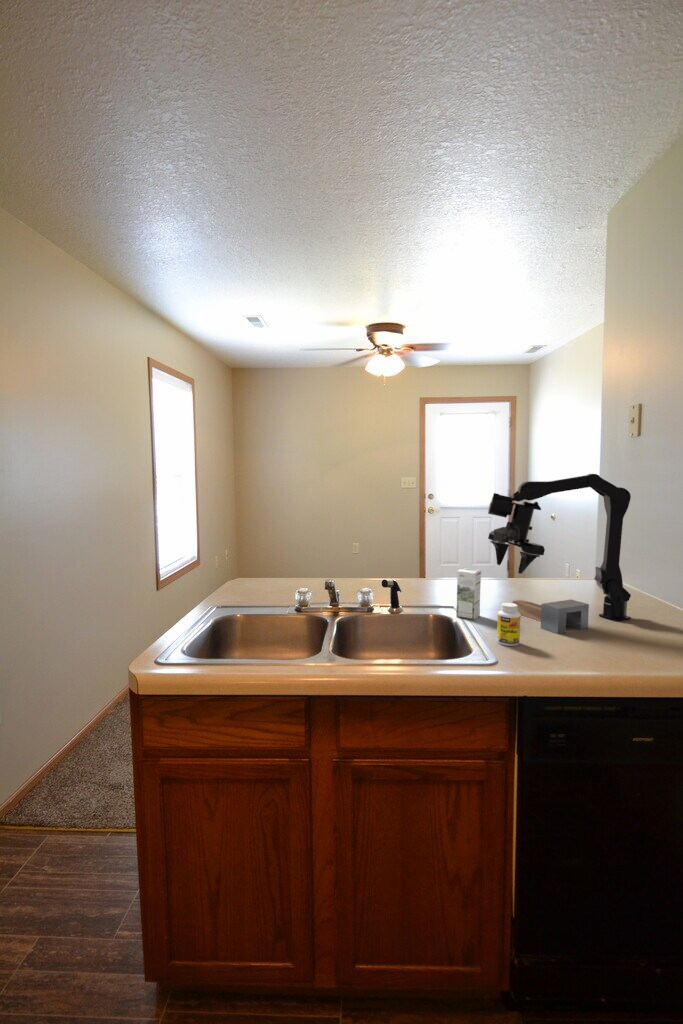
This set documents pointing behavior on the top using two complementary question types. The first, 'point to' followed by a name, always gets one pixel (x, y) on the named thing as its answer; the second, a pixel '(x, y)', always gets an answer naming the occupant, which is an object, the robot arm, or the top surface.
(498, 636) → the supplement bottle
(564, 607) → the grey u-shaped block
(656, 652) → the top surface
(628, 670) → the top surface
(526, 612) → the plug rod
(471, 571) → the syrup box
